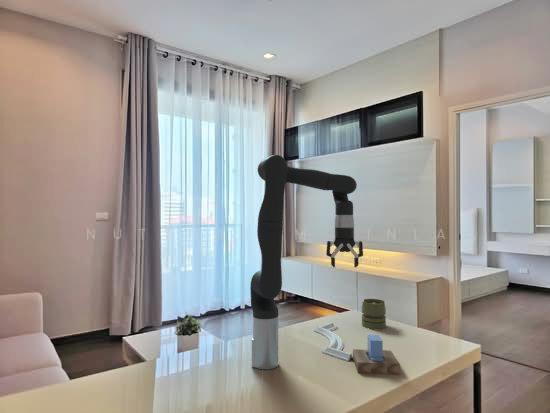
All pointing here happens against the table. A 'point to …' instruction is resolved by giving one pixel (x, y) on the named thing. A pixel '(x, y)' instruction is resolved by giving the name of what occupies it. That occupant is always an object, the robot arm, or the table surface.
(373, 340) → the blue block
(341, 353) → the molding
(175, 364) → the table surface
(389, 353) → the tan square ring
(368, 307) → the piston
